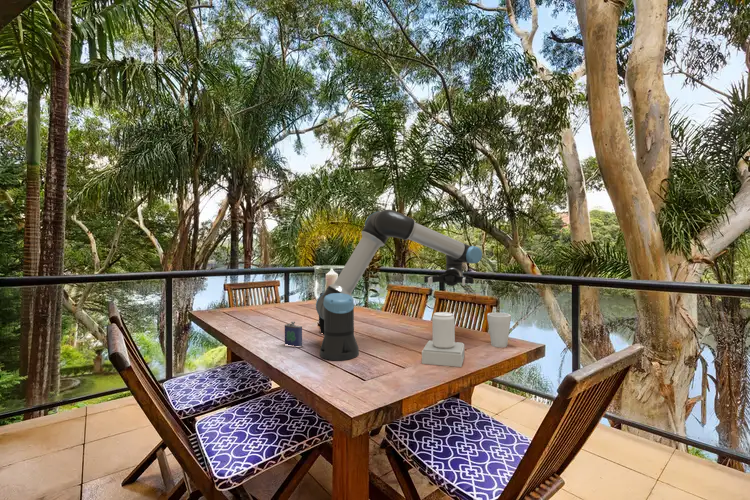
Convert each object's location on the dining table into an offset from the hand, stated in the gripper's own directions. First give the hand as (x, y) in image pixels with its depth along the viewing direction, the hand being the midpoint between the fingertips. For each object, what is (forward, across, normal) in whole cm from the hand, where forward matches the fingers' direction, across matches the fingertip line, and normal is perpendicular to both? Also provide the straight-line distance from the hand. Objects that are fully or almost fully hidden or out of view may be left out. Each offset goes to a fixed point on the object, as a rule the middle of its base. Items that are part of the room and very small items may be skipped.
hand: (445, 281), depth 148 cm
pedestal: (+11, 0, -28) cm, 30 cm away
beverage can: (+11, 0, -23) cm, 25 cm away
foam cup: (-14, -20, -28) cm, 37 cm away
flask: (+10, +64, -28) cm, 70 cm away
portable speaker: (-14, +59, -28) cm, 67 cm away
